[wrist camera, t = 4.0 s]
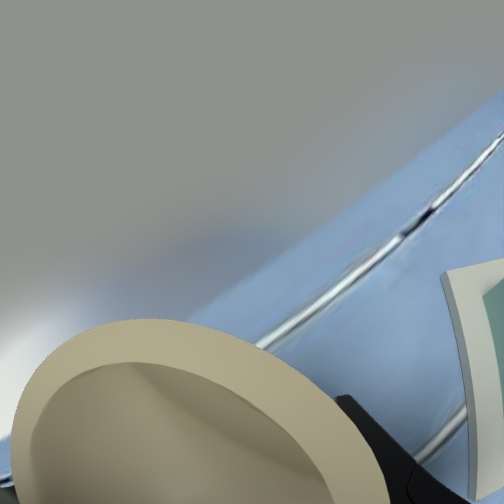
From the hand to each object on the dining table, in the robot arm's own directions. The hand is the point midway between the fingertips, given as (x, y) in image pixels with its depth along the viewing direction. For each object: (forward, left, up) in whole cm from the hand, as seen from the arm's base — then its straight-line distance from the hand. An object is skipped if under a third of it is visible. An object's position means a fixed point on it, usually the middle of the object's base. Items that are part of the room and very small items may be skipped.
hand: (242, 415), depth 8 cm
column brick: (-1, +1, -7) cm, 7 cm away
